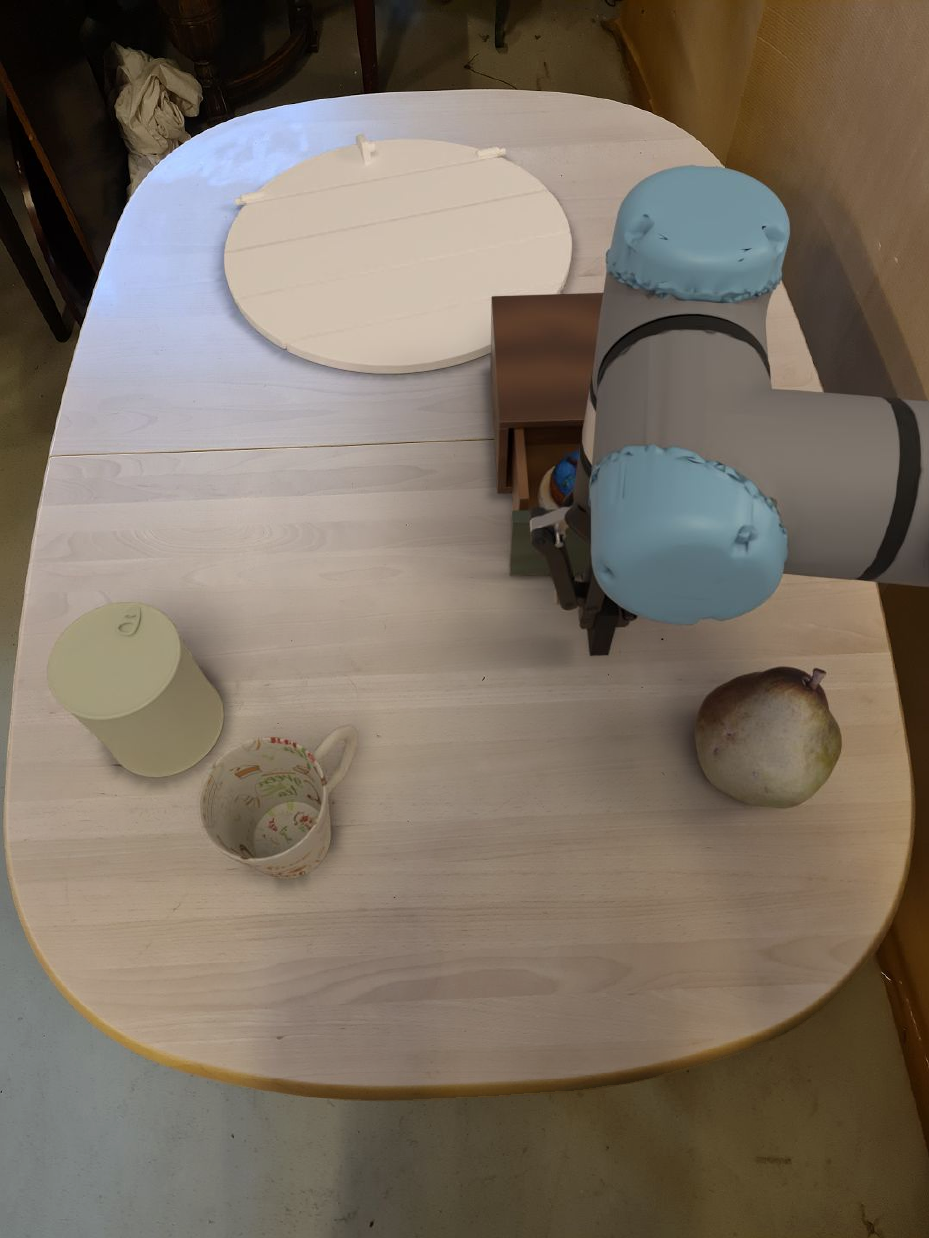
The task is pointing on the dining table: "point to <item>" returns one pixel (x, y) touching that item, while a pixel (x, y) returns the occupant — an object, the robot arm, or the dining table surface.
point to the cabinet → (540, 365)
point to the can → (136, 688)
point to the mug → (273, 803)
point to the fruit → (768, 737)
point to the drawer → (528, 465)
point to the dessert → (558, 482)
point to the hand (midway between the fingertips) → (597, 640)
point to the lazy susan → (393, 253)
